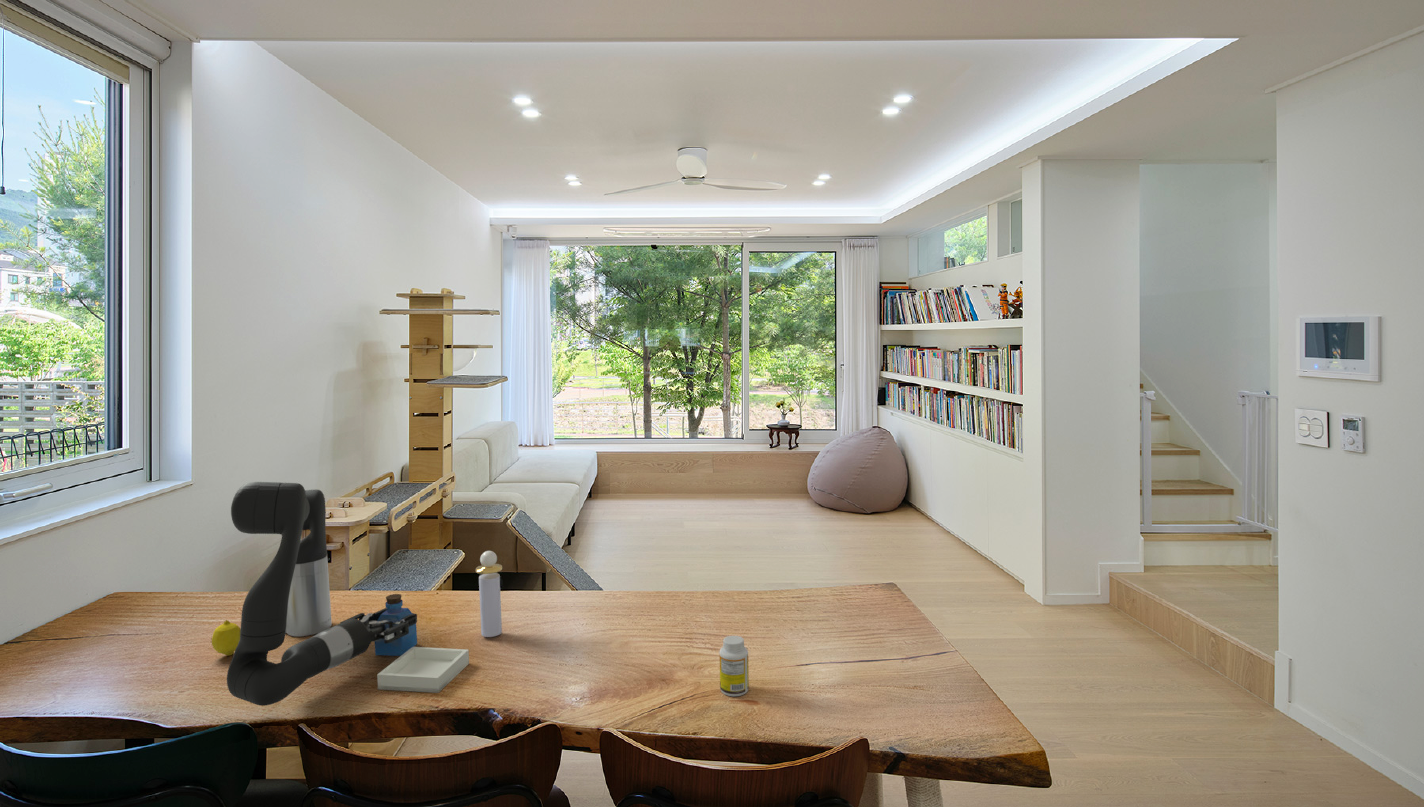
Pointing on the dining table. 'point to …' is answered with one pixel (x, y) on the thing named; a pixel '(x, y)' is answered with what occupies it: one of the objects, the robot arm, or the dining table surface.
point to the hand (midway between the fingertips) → (401, 615)
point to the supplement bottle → (734, 666)
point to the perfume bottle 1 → (395, 613)
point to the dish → (423, 669)
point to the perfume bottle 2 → (490, 594)
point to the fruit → (226, 638)
